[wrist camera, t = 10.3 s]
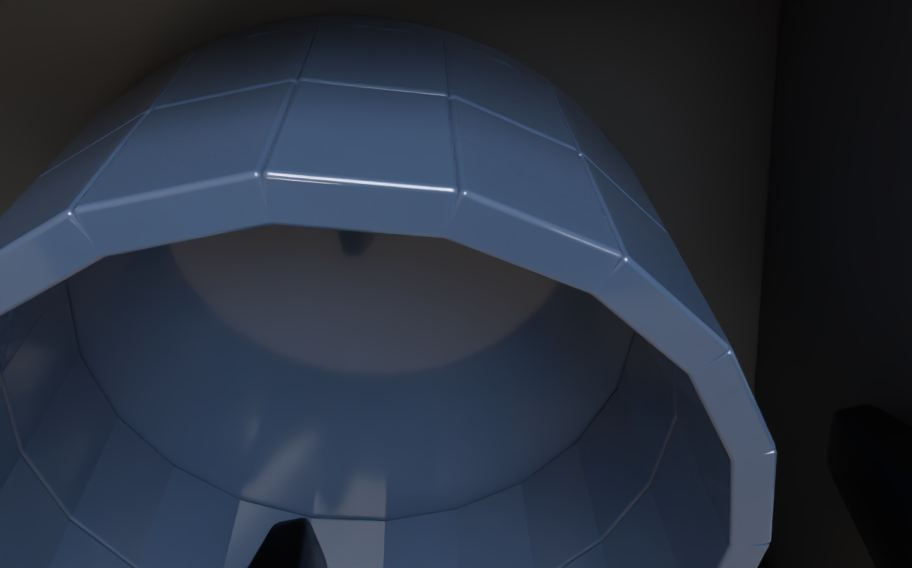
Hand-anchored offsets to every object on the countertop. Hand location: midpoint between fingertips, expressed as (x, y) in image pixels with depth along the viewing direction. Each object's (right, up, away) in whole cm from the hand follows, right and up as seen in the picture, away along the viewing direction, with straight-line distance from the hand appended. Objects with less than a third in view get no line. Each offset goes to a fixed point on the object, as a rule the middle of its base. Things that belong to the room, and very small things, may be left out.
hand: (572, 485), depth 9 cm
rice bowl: (-3, +2, +4) cm, 5 cm away
